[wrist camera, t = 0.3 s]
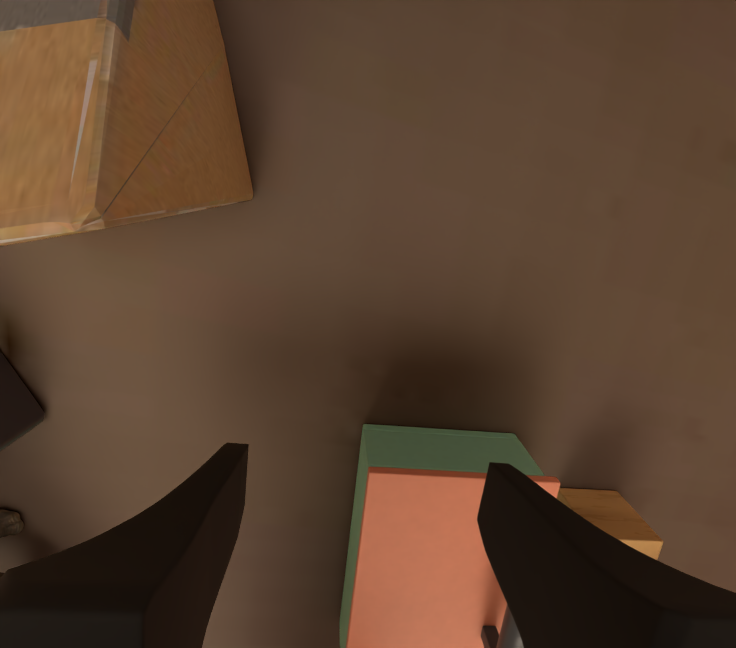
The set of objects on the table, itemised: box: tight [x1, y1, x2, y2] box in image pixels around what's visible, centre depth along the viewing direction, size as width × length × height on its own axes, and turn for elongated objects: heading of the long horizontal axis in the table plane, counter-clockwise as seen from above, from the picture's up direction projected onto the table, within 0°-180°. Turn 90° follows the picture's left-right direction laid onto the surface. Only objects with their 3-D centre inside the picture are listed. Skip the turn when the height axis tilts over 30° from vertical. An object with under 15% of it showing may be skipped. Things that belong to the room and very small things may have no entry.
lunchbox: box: [339, 424, 544, 648], centre depth 25 cm, size 8×13×4 cm, turn 174°
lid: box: [346, 467, 560, 648], centre depth 21 cm, size 9×13×4 cm, turn 174°
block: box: [557, 488, 663, 560], centre depth 25 cm, size 5×4×4 cm
